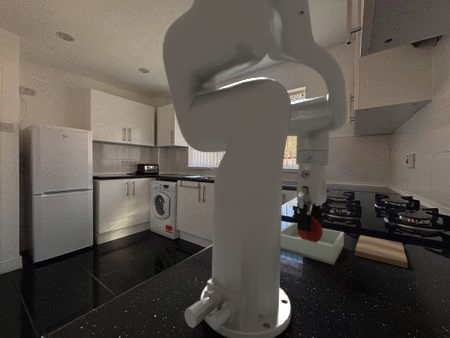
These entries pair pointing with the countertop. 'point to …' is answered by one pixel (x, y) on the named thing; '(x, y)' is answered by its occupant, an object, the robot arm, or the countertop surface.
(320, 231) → the onion
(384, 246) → the board
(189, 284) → the countertop surface
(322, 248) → the bin
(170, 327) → the countertop surface
